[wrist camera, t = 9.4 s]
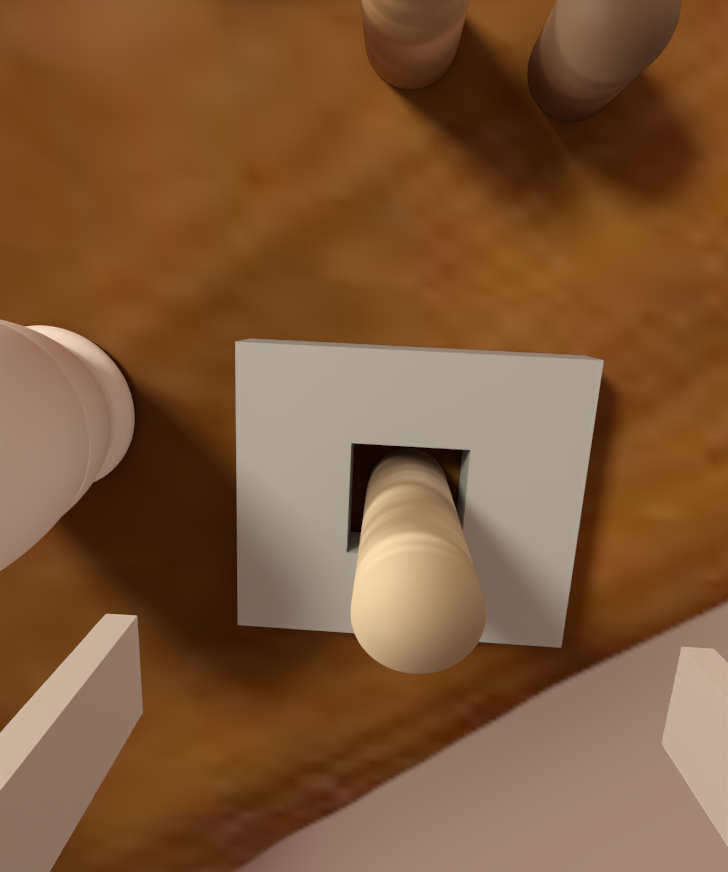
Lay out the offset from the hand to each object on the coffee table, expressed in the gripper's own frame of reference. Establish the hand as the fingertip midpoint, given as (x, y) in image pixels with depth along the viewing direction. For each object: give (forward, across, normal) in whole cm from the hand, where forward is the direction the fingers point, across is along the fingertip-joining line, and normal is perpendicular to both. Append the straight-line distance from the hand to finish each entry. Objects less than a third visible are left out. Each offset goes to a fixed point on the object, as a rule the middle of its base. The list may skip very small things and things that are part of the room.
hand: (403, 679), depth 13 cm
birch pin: (+15, +1, 0) cm, 15 cm away
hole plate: (+15, +1, 0) cm, 15 cm away
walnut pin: (+15, +7, +19) cm, 25 cm away
